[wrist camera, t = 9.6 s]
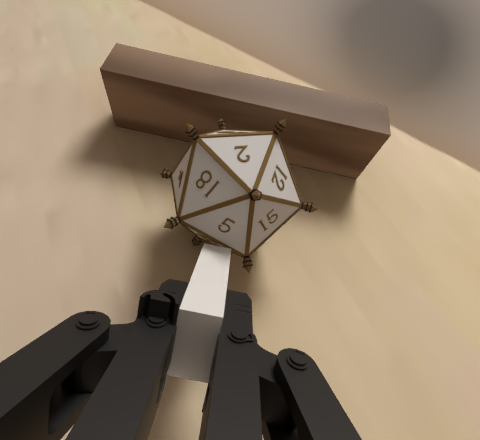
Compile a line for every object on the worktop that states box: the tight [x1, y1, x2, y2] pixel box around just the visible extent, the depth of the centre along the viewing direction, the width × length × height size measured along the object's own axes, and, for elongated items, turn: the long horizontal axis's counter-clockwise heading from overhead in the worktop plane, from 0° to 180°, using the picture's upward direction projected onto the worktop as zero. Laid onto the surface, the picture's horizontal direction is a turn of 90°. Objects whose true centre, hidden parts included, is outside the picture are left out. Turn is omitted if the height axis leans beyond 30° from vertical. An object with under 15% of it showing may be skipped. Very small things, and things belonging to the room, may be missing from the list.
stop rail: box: [100, 43, 391, 178], centre depth 24 cm, size 3×20×5 cm, turn 81°
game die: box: [159, 119, 318, 273], centre depth 18 cm, size 9×8×10 cm
